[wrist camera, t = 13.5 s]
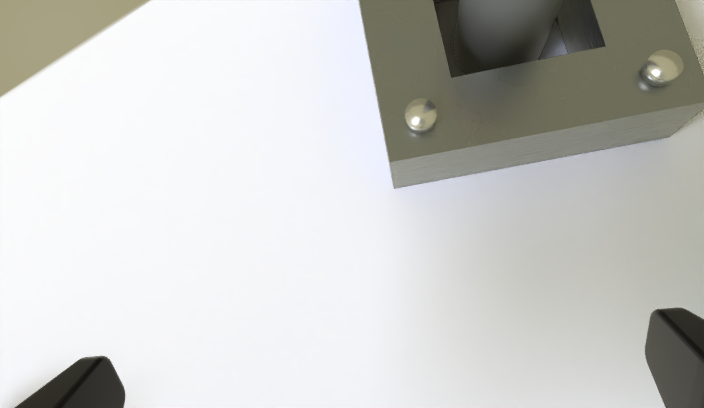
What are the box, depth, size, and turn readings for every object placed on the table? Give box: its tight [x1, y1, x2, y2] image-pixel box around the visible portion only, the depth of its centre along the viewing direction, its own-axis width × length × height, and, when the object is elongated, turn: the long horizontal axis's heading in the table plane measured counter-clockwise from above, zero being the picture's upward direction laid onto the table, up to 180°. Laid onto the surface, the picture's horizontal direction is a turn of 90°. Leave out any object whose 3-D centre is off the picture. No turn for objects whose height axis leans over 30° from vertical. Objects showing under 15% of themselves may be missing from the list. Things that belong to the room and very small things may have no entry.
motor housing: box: [358, 0, 704, 189], centre depth 22 cm, size 12×12×4 cm
